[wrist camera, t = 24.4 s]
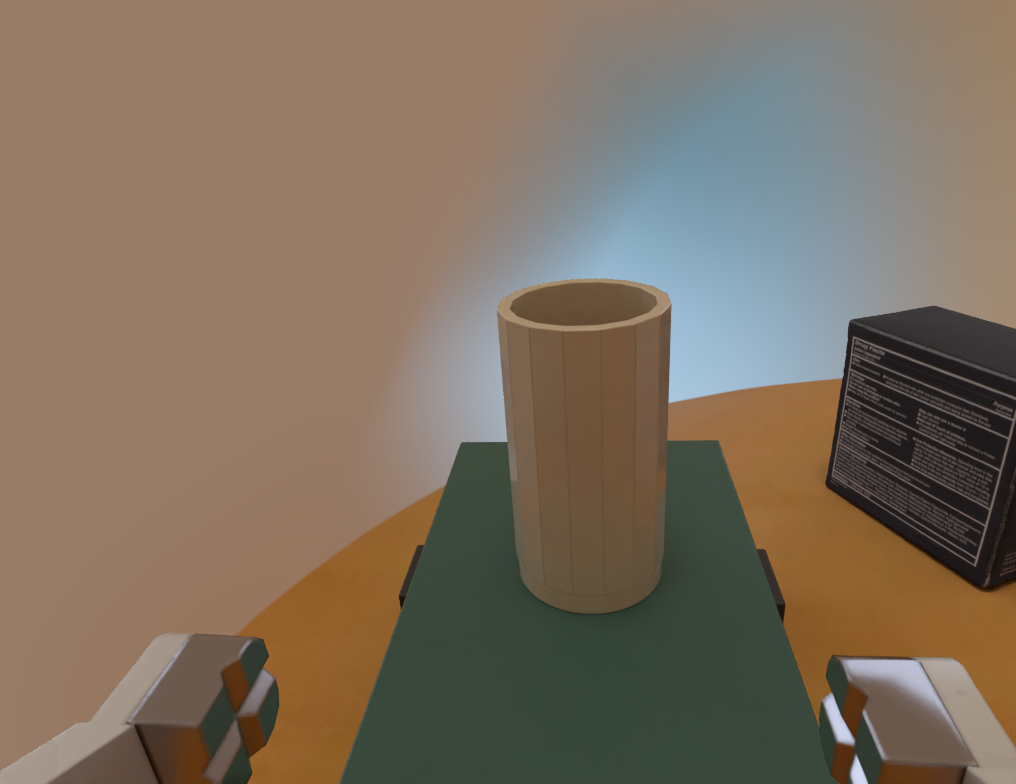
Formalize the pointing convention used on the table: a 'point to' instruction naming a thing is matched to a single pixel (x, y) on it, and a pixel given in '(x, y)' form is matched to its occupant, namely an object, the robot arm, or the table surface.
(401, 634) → the box
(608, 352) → the cup
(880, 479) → the small box
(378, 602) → the table surface
